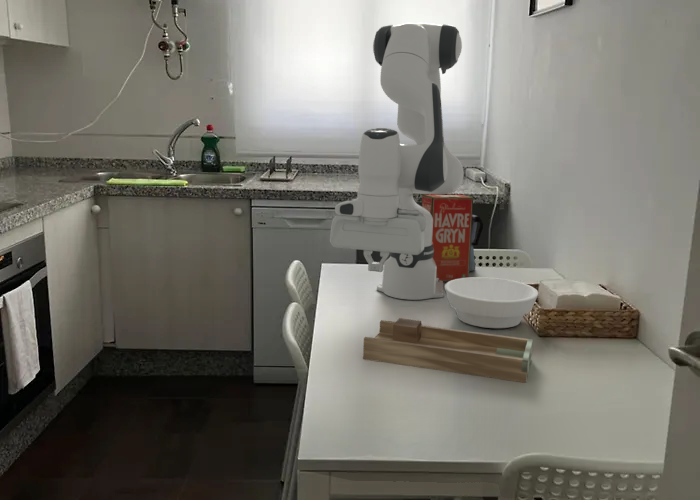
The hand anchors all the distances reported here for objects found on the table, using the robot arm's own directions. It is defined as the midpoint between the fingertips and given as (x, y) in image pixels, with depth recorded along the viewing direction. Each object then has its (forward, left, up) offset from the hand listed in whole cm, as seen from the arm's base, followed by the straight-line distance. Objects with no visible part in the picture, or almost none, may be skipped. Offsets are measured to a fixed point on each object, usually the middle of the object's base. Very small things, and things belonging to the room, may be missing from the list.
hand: (375, 270), depth 151 cm
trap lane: (+2, +17, -17) cm, 24 cm away
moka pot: (-78, +6, -17) cm, 80 cm away
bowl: (-28, +21, -17) cm, 39 cm away
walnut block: (0, +7, -15) cm, 17 cm away
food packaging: (-62, +3, -17) cm, 64 cm away
